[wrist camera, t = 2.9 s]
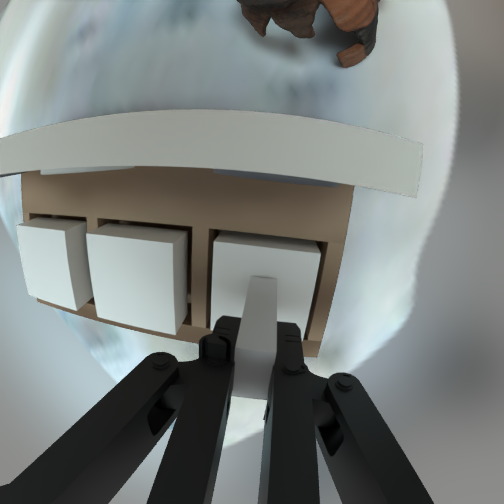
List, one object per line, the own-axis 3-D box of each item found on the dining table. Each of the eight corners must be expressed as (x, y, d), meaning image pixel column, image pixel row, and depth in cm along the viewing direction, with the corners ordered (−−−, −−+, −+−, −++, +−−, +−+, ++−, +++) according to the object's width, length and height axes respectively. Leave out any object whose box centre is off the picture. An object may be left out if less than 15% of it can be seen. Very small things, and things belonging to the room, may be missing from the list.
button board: (52, 135, 19) (22, 136, 15) (343, 139, 17) (360, 134, 14) (61, 284, 23) (37, 301, 20) (311, 327, 22) (316, 357, 18)
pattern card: (31, 151, 15) (-70, 167, 6) (332, 153, 14) (423, 143, 5) (30, 169, 16) (-69, 193, 6) (329, 179, 15) (414, 212, 5)
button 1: (38, 217, 18) (16, 225, 15) (87, 221, 17) (64, 230, 15) (47, 282, 20) (28, 294, 17) (95, 294, 19) (77, 310, 17)
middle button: (108, 223, 17) (86, 233, 15) (187, 231, 17) (172, 243, 14) (115, 299, 19) (97, 316, 17) (187, 313, 19) (175, 335, 16)
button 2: (222, 229, 18) (213, 241, 15) (314, 240, 18) (321, 253, 15) (218, 309, 20) (210, 330, 17) (299, 319, 20) (302, 341, 17)
